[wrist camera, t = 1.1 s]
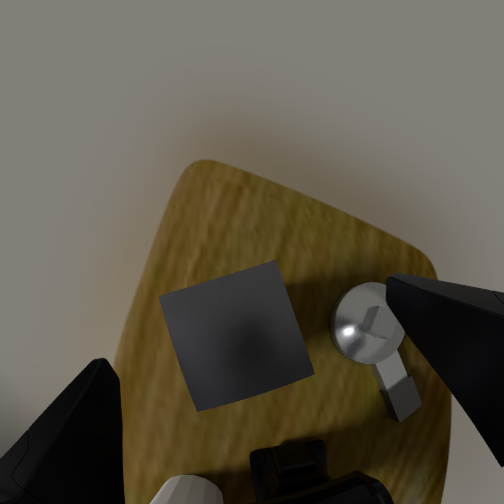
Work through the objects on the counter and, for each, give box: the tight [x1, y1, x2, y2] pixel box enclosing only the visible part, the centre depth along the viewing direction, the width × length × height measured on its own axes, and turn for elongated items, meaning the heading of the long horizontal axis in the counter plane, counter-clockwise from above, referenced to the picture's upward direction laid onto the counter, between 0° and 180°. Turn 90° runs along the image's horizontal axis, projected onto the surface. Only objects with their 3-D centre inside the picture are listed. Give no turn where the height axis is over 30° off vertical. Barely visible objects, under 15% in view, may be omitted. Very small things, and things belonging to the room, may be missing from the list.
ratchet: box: [329, 282, 422, 423], centre depth 20 cm, size 13×7×4 cm, turn 26°
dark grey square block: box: [159, 260, 315, 412], centre depth 16 cm, size 5×5×11 cm
